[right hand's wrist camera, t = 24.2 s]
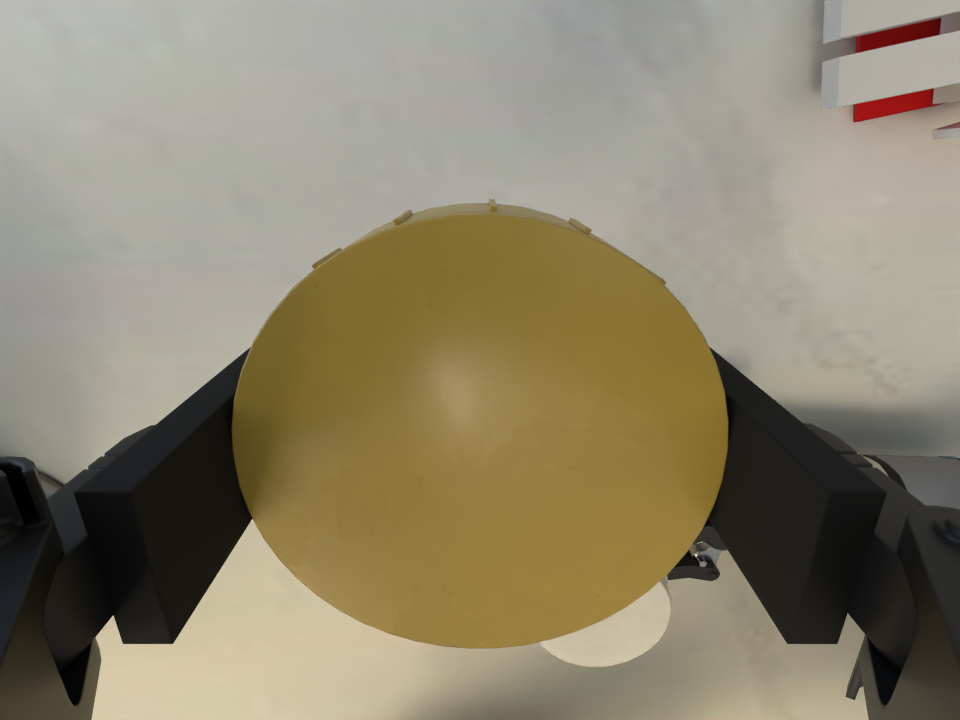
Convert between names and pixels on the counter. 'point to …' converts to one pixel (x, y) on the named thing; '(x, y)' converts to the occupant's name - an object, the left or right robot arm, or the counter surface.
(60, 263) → the counter surface
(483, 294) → the lid
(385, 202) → the counter surface
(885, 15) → the toy
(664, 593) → the jar
